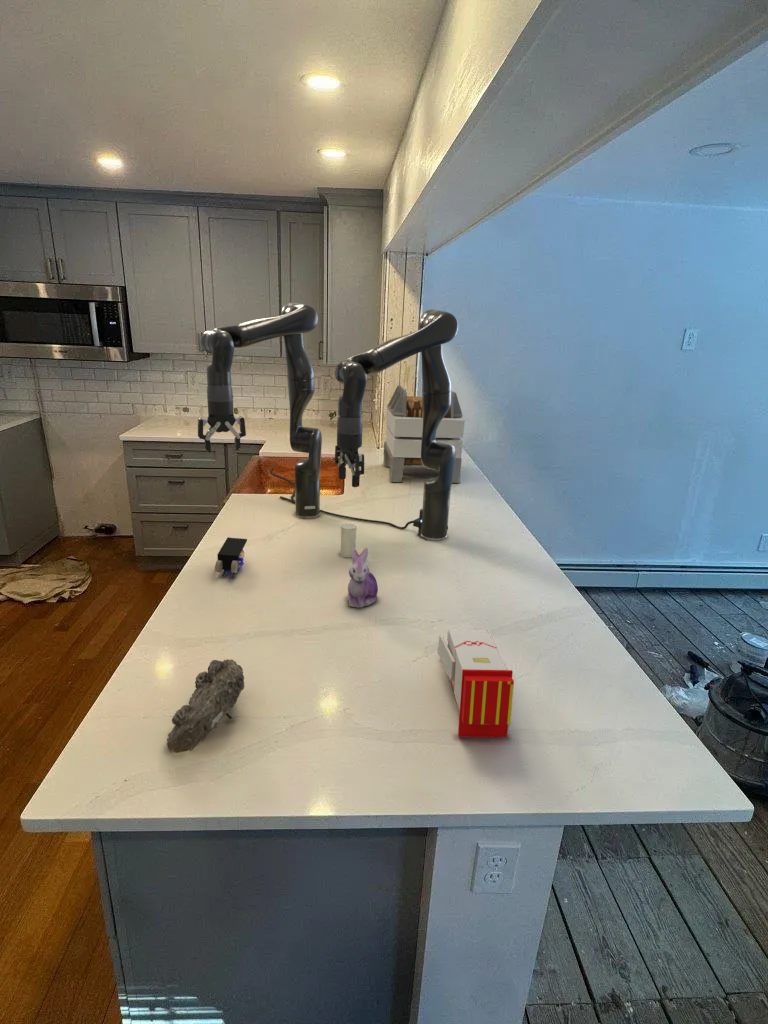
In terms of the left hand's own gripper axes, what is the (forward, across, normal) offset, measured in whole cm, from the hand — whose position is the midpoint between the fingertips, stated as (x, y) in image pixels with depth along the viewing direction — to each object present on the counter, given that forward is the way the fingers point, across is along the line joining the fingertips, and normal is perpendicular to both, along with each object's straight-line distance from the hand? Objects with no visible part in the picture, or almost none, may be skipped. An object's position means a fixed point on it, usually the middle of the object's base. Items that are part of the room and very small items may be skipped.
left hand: (223, 450), depth 178 cm
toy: (+30, -30, +98) cm, 107 cm away
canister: (+30, -33, +25) cm, 51 cm away
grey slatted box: (+30, -102, -51) cm, 118 cm away
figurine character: (+30, +3, +23) cm, 38 cm away
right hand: (+6, -33, +25) cm, 41 cm away
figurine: (+30, -25, +54) cm, 67 cm away
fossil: (+30, +20, +85) cm, 93 cm away
